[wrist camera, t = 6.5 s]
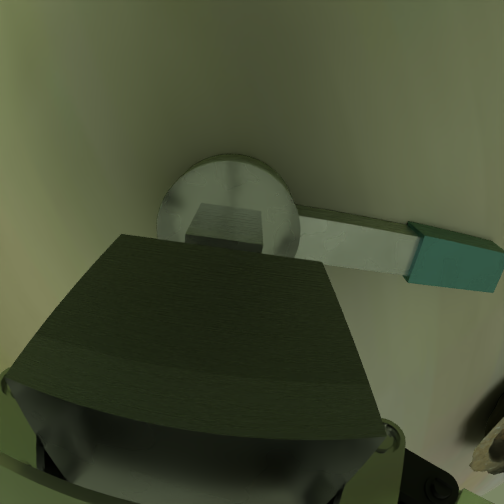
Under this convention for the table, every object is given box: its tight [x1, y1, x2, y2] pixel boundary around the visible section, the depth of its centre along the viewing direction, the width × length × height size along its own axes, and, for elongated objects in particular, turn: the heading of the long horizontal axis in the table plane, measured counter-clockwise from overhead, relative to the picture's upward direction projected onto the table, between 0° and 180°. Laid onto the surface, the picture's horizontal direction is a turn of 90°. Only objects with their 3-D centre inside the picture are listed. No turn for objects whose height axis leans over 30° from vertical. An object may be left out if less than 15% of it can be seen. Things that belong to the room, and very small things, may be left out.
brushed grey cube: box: [4, 234, 387, 504], centre depth 8 cm, size 6×6×6 cm
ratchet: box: [157, 154, 504, 293], centre depth 18 cm, size 8×25×7 cm, turn 81°
